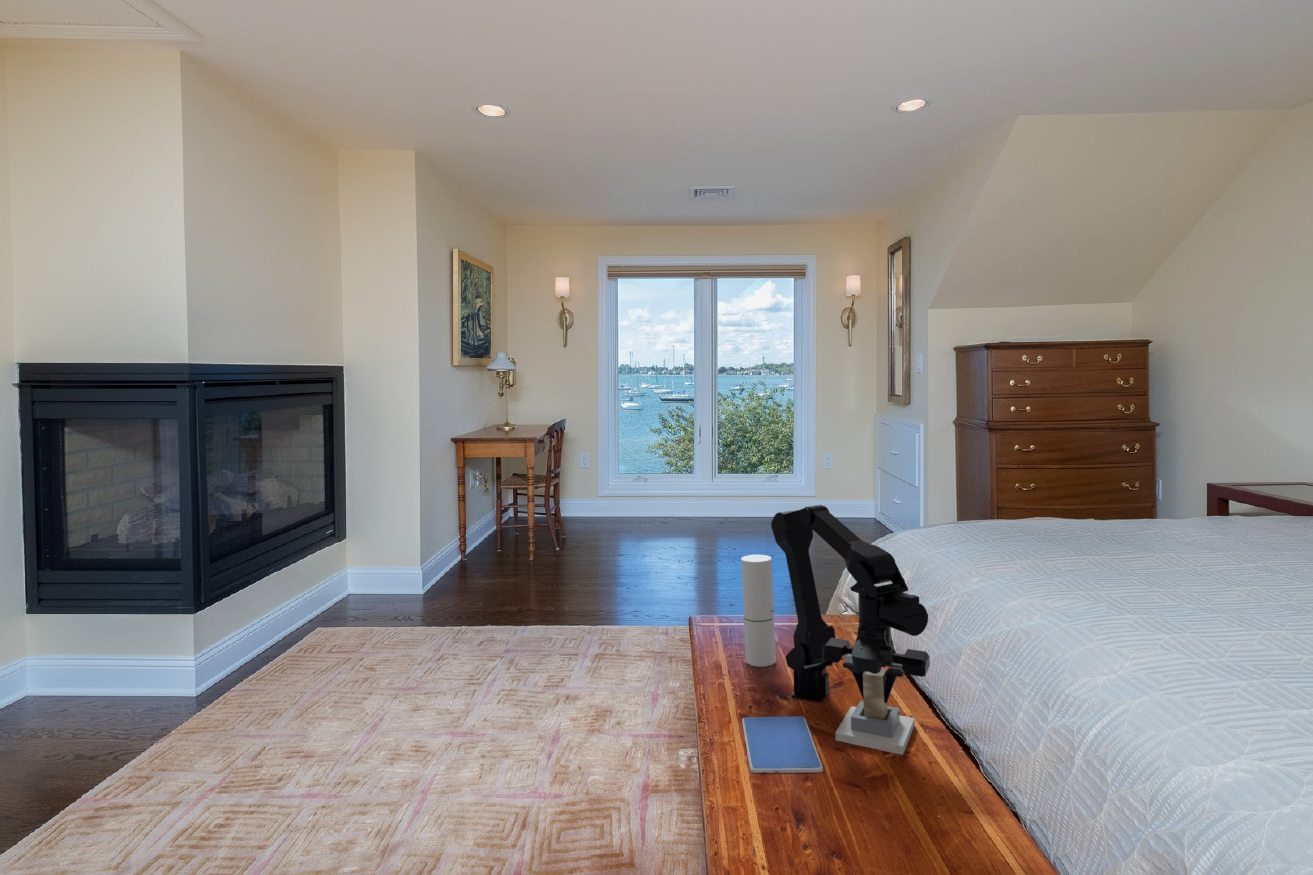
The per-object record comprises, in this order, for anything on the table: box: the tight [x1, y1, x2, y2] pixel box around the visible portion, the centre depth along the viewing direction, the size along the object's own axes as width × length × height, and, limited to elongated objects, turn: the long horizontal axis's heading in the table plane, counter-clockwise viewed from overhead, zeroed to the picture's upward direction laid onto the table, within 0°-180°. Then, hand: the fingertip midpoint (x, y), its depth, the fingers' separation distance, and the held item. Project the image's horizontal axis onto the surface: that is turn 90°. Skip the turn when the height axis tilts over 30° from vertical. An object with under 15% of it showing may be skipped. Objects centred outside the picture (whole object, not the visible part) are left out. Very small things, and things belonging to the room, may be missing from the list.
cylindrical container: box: [740, 554, 777, 668], centre depth 170 cm, size 7×7×25 cm
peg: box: [863, 668, 888, 721], centre depth 134 cm, size 4×4×9 cm
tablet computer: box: [741, 716, 824, 774], centre depth 132 cm, size 19×13×1 cm, turn 178°
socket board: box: [835, 700, 916, 756], centre depth 135 cm, size 12×12×4 cm
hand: (875, 700), depth 134 cm, fingers closed on peg, 4 cm apart
